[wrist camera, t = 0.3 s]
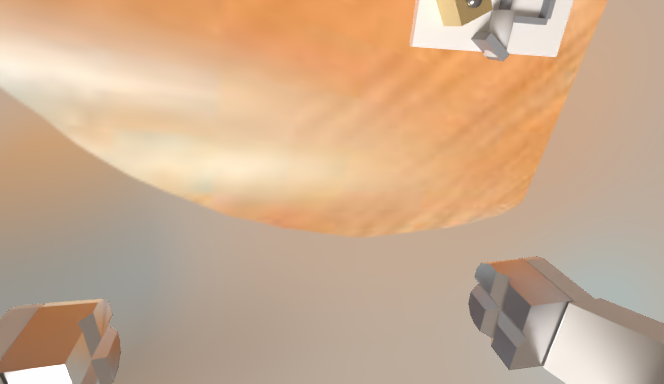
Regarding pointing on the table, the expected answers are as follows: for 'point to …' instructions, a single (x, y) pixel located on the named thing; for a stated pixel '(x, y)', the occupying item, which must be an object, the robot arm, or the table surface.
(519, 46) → the shaft bench
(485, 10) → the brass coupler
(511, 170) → the table surface
